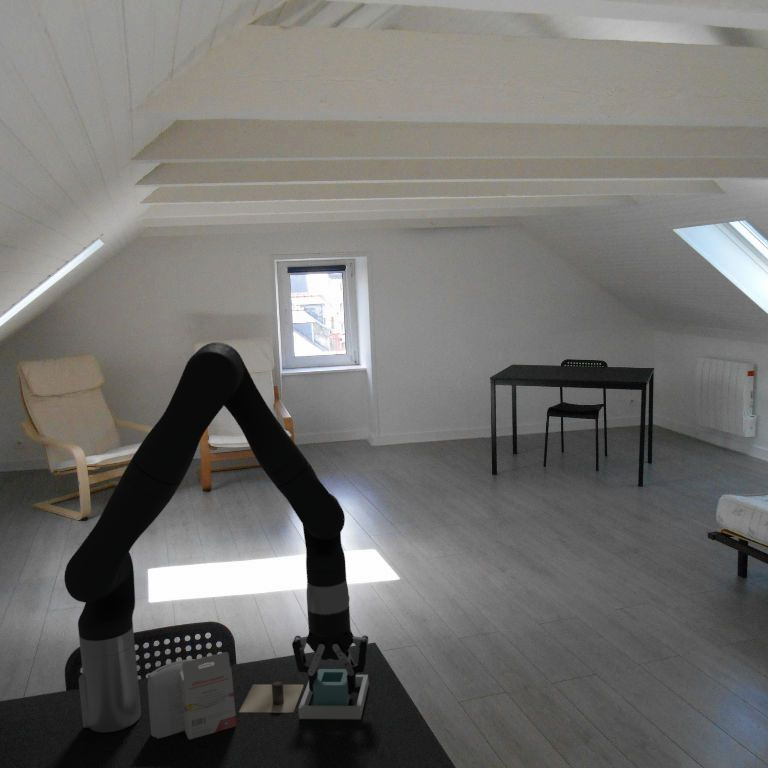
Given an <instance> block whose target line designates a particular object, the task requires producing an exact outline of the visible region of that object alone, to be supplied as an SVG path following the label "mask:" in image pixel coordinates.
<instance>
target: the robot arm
mask: <svg viewBox="0 0 768 768" xmlns="http://www.w3.org/2000/svg"><path fill="white" fill-rule="evenodd" d="M166 407H167V408H165V411H164V412H163V414H162V415H161V417H160V418H159V420H158V421H157V422H156V423H155V425H154V426H153V427H152V429H151V430H149V432H148V433H147V435H146V436H145V438H144V440H143V441H142V442H141V444H140V445H139V447H138V448H137V449H136V451H135V453H134V455H133V456H132V458H131V460H130V461H129V462H128V464H127V466H126V468H125V470H124V472H123V473H122V475H121V477H120V479H119V481H118V483H117V485H116V486H115V489H114V490H113V492H112V493H111V495H110V497H109V499H108V501H107V503H106V505H105V507H104V509H103V511H102V513H101V514H100V517H99V519H98V520H97V522H96V524H95V525H94V527H93V528H92V530H91V531H90V532H89V533H88V535H87V536H86V538H85V539H84V540H83V542H82V543H81V544H80V546H79V547H78V548H77V550H76V551H75V552H74V553H73V555H72V556H71V558H70V559H69V560H68V562H67V564H66V566H65V570H64V576H63V577H64V585H65V589H66V591H67V592H68V594H69V595H70V596H71V598H73V599H74V600H76V601H77V602H80V603H85V604H84V606H83V608H82V611H81V612H80V615H79V618H78V621H77V630H78V639H79V640H78V641H79V647H80V648H79V649H80V650H79V651H80V658H81V666H82V667H81V668H82V674H80V675H79V677H78V686H79V687H78V688H79V697H80V707H81V715H82V717H81V718H82V726H83V728H85V729H90V730H91V731H93V732H96V733H100V734H101V733H104V734H105V733H106V734H107V733H113V732H118V731H121V730H125V729H126V728H128V727H131V726H132V725H134V724H136V722H138V720H139V719H140V718H141V715H142V708H141V698H140V687H139V686H140V685H139V677H138V667H137V666H138V665H137V655H136V644H135V636H134V635H135V634H134V623H133V621H134V620H133V615H134V611H135V607H136V593H135V571H134V569H135V568H134V563H133V559H132V555H131V553H130V551H131V549H132V547H133V546H134V544H135V543H136V542H137V541H138V540H139V538H140V537H141V536H142V535H143V533H144V532H145V531H147V530H148V528H149V527H150V526H151V525H152V524H153V523H154V521H155V520H156V519H157V518H158V517H159V515H161V513H162V511H163V510H164V509H165V508H166V507H167V505H168V504H169V502H171V500H172V498H173V497H174V496H175V493H176V492H177V490H178V488H179V486H180V485H181V483H182V482H183V481H184V478H185V476H186V474H187V473H188V470H189V469H190V466H191V465H192V462H193V460H194V457H195V455H196V452H197V450H198V447H199V444H200V441H202V440H201V439H202V437H203V436H204V433H206V430H207V429H208V427H210V425H211V423H213V420H215V418H216V416H218V414H219V412H220V411H221V410H222V409H223V408H224V407H225V409H227V411H228V412H229V413H230V415H231V416H232V417H233V419H234V420H235V422H236V423H237V425H238V426H239V428H240V430H241V431H242V433H243V435H244V437H245V439H246V441H247V443H248V445H249V447H250V450H251V452H252V453H253V455H254V457H255V459H256V460H257V462H258V464H259V465H260V467H261V468H262V469H263V471H264V472H265V475H267V476H268V478H269V479H270V481H271V482H272V484H273V485H274V486H275V487H276V488H277V490H278V491H279V492H280V493H281V494H282V496H284V498H285V499H286V500H287V502H288V503H289V505H290V506H291V508H292V509H293V511H294V513H295V515H296V516H297V517H298V519H299V520H300V522H301V524H302V529H303V537H304V544H305V551H306V552H305V553H306V556H305V568H306V607H307V610H306V611H307V622H308V634H307V636H302V637H301V636H300V635H295V636H294V638H293V641H292V643H291V646H292V650H293V654H294V658H295V664H296V667H297V671H298V672H299V673H303V672H304V673H306V674H307V675H308V681H309V689H310V691H313V684H314V681H315V680H316V678H317V675H318V670H319V669H318V670H317V668H318V666H319V663H320V661H327V660H334V661H338V660H339V661H340V663H341V666H342V667H343V668H344V669H346V671H347V673H348V674H347V680H348V692H349V695H350V696H351V695H353V692H355V691H356V688H357V687H356V675H357V673H360V674H361V673H363V672H365V666H366V662H367V655H368V646H369V636H368V635H362V637H361V636H355V635H354V634H353V632H352V630H351V616H350V615H351V613H350V602H351V601H350V595H349V593H350V592H349V586H348V582H347V569H346V557H345V551H344V548H343V545H342V534H341V533H342V530H343V529H344V527H345V521H346V519H345V512H344V509H343V507H342V506H341V504H340V502H339V500H338V498H336V497H335V496H334V495H333V494H331V493H330V492H329V491H328V489H327V488H326V487H325V486H324V484H323V483H322V482H321V481H320V479H319V478H318V476H317V474H316V472H315V470H314V469H313V467H312V465H311V464H310V462H309V461H308V459H307V458H306V457H305V455H304V454H303V453H302V451H301V449H299V447H298V446H297V445H296V443H295V442H294V440H293V439H292V438H291V437H290V435H289V434H288V432H287V431H286V430H285V429H284V427H283V426H282V425H281V423H280V422H279V420H278V418H276V416H275V415H274V414H273V412H272V410H271V409H270V407H269V406H268V404H267V402H266V401H265V399H264V398H263V395H262V394H261V393H260V391H259V388H258V387H257V386H256V384H255V382H254V380H253V377H252V375H251V374H250V372H249V370H248V368H247V366H246V364H245V363H244V360H243V358H242V356H241V355H240V353H239V352H238V351H237V350H236V349H235V348H234V347H233V346H231V345H229V344H227V343H224V342H218V341H217V342H215V341H214V342H210V343H207V344H205V345H203V346H201V347H200V348H199V349H198V350H197V351H196V352H195V353H194V354H193V355H191V357H189V359H188V361H187V362H186V365H185V367H184V369H183V371H182V374H181V376H180V379H179V380H178V383H177V386H176V388H175V390H174V393H173V394H172V396H171V399H170V401H169V403H168V405H167V406H166ZM353 644H354V645H355V649H356V650H357V651H359V653H358V660H357V662H355V661H354V660H353V656H352V652H351V651H350V650H349V649H350V647H351V646H352V645H353ZM307 645H308V646H309V648H310V649H311V650H312V651H313V652H314V656H313V658H312V661H311V663H310V662H308V661H307V658H306V653H305V649H306V646H307ZM312 695H314V693H313V694H312Z"/></svg>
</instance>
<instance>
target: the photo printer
mask: <svg viewBox="0 0 768 768" xmlns="http://www.w3.org/2000/svg"><path fill="white" fill-rule="evenodd" d="M196 659H197V658H196ZM196 659H193V658H191V659H189V658H188V659H182V660H178V661H174V662H170V663H167V664H164V665H163V666H160V667H158V668H156V669H155V670H153V671H152V672H150V673H148V676H147V697H148V711H149V712H148V713H149V722H150V724H149V725H150V734H151V737H153V738H156V739H158V740H159V739H163V738H166V737H168V736H173V735H175V734H179V733H182V732H185V728H184V719H183V709H182V699H181V688H180V677H179V672H180V671H183V668H182V664H183V663H184V662H187V661H192V660H196Z"/></svg>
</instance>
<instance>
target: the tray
mask: <svg viewBox="0 0 768 768" xmlns="http://www.w3.org/2000/svg"><path fill="white" fill-rule="evenodd" d="M369 684H370V683H369V674H356V688H359V694H358V697H357V701H356V705H348V706H314V705H310V703H311V699H312V697H313V695H314V694H313V691H310V689H309V680H308V682H307V685H306V686H305V687H306V688H305V690H304V693H303V695H302V698H301V700H300V703H299V705H298V719H299V720H362V715H363V710H364V707H365V702H366V698H367V693H368V688H369Z"/></svg>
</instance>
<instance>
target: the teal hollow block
mask: <svg viewBox="0 0 768 768" xmlns="http://www.w3.org/2000/svg"><path fill="white" fill-rule="evenodd" d="M347 674H348V673H347V671H346V669H345V668H319V669H318V675H317V678H316V680H315V681H314V684H313V693H314V694H313V706H349V703H350V699H351V695H349V692H348V680H347Z"/></svg>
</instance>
